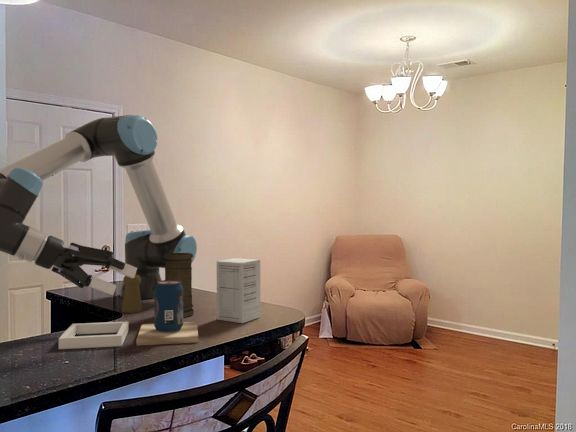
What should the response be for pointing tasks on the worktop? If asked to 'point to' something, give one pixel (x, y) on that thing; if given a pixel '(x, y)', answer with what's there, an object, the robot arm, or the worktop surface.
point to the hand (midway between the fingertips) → (124, 282)
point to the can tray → (72, 341)
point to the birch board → (167, 335)
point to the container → (181, 276)
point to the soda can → (168, 306)
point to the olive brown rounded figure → (132, 295)
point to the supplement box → (238, 290)
